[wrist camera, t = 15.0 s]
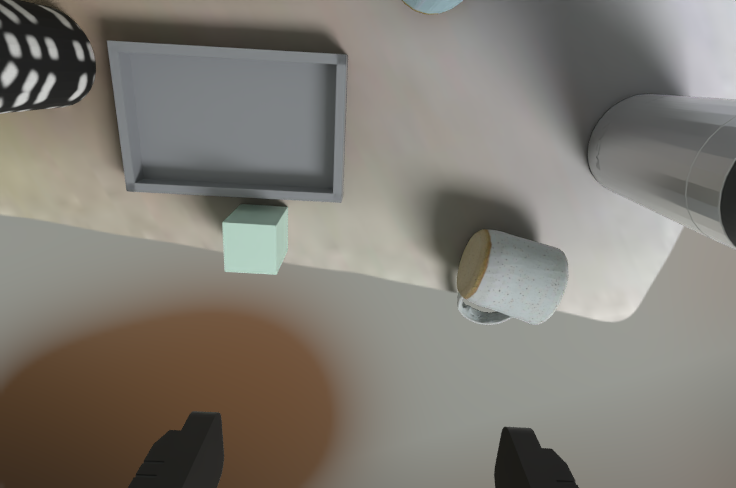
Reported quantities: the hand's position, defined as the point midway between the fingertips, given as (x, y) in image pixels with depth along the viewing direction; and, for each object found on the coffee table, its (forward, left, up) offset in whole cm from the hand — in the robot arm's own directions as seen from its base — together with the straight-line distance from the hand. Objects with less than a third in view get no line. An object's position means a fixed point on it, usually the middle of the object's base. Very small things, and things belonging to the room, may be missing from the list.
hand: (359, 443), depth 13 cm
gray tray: (+12, -5, -33) cm, 35 cm away
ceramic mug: (-14, +8, -33) cm, 37 cm away
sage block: (+10, +5, -33) cm, 35 cm away
